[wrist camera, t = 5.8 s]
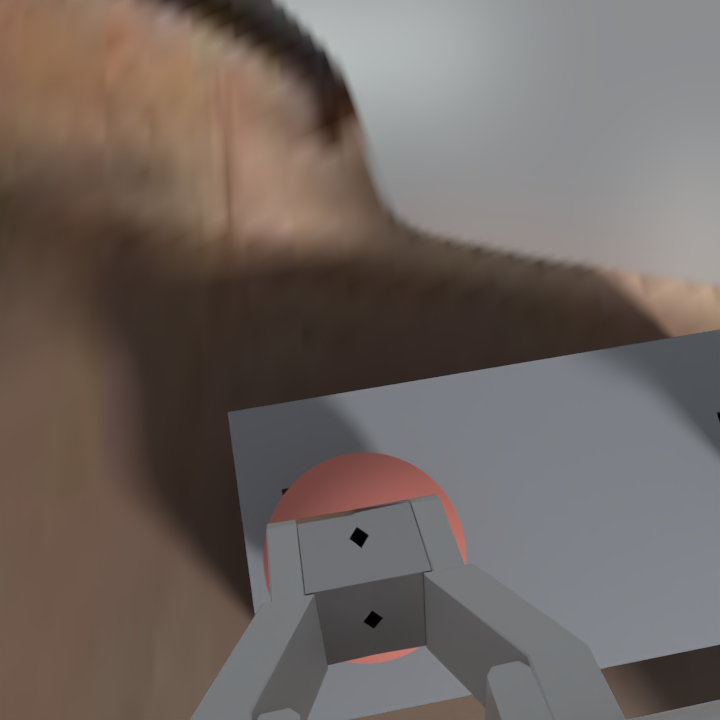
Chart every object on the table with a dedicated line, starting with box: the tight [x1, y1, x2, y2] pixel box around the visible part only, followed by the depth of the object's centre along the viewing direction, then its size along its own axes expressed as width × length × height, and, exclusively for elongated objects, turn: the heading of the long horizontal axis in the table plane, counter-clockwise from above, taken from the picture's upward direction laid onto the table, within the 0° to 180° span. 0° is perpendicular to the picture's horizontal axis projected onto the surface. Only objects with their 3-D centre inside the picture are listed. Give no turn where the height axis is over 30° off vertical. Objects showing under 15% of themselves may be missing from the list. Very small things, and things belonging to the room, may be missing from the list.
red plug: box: [263, 452, 466, 664], centre depth 24 cm, size 5×5×14 cm
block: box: [228, 330, 720, 720], centre depth 27 cm, size 22×10×10 cm, turn 100°
